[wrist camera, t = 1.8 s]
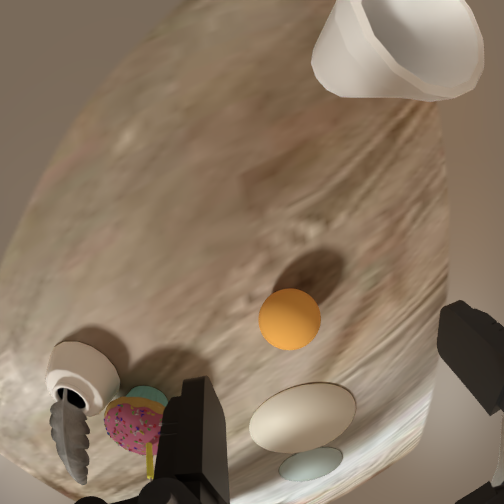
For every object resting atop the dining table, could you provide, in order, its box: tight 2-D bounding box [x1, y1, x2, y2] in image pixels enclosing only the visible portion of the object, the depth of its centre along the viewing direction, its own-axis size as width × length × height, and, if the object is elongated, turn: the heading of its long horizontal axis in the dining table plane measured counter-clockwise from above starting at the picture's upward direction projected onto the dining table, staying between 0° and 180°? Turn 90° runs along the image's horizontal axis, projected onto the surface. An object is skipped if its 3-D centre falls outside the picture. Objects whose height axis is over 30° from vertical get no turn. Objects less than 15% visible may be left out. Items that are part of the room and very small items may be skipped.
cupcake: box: [104, 386, 168, 481], centre depth 27 cm, size 9×8×12 cm
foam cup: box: [311, 0, 484, 102], centre depth 17 cm, size 10×9×13 cm
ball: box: [259, 288, 321, 350], centre depth 28 cm, size 6×6×6 cm
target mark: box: [249, 383, 356, 453], centre depth 36 cm, size 14×14×1 cm
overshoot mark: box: [279, 447, 342, 481], centre depth 40 cm, size 10×10×1 cm
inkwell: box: [45, 341, 120, 485], centre depth 28 cm, size 9×18×10 cm, turn 173°
